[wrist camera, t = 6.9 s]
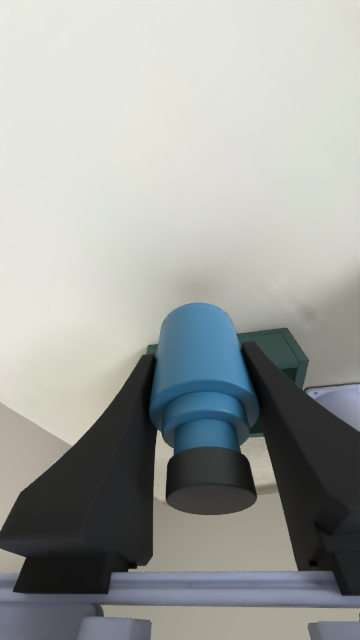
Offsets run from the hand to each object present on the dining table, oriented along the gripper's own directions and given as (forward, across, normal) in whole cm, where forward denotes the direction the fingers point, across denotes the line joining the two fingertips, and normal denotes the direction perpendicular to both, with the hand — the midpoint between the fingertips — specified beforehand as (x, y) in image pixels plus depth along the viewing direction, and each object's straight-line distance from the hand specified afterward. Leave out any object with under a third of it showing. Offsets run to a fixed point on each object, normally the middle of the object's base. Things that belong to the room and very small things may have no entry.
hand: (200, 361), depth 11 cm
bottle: (+2, 0, 0) cm, 2 cm away
